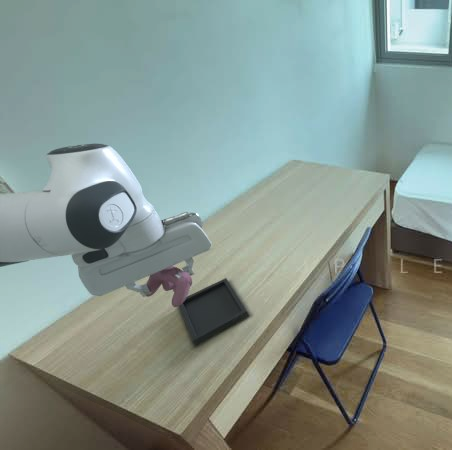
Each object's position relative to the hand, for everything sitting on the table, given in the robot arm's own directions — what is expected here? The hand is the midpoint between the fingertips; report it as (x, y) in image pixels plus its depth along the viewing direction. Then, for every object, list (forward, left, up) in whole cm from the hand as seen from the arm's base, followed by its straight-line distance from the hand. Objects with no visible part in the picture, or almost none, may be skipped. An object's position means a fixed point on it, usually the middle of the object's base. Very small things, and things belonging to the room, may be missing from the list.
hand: (169, 283), depth 64 cm
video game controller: (0, 0, -3) cm, 3 cm away
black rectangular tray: (+4, +6, -18) cm, 19 cm away
